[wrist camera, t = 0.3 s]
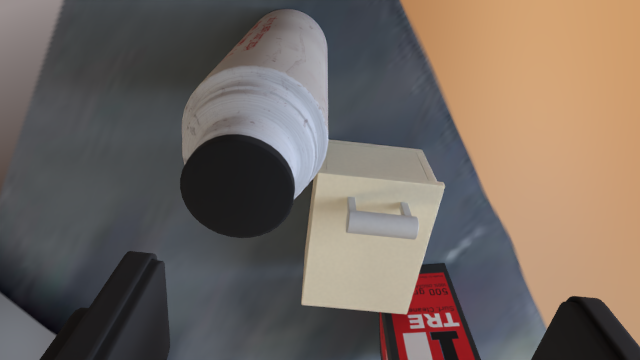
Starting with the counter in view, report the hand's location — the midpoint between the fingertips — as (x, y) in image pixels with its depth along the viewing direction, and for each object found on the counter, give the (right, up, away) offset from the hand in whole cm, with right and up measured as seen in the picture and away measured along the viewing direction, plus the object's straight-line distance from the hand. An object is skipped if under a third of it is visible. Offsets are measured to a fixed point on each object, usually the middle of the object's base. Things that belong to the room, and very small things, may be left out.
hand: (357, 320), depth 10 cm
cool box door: (+4, -3, +33) cm, 33 cm away
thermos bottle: (-4, +17, +32) cm, 36 cm away
